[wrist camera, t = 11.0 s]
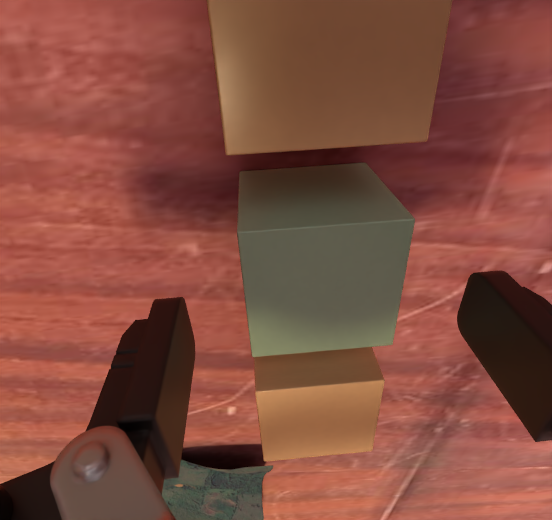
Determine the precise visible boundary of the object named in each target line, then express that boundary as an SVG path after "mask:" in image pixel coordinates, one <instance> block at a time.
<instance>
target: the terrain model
mask: <svg viewBox="0 0 552 520" xmlns="http://www.w3.org/2000/svg"><path fill="white" fill-rule="evenodd" d="M272 468H273V466H256V467H244V468H238V469H232V470H225V469H214V468H208V467H204V466H200V465H196V464H193V463H190V462H188V461H185V460H182V459H181V463H180V470H179V478H171V479H164V484H163V490H162V497H163V498H164V500H165V502H166V504H167V505H168V507H169V509H170V510H171V512H172V514H173V515H174V517H175V519H176V520H264V517H263V507H262V481H263V477H264V475H265V474H266V473H267V472H269V471H271V470H272Z"/></svg>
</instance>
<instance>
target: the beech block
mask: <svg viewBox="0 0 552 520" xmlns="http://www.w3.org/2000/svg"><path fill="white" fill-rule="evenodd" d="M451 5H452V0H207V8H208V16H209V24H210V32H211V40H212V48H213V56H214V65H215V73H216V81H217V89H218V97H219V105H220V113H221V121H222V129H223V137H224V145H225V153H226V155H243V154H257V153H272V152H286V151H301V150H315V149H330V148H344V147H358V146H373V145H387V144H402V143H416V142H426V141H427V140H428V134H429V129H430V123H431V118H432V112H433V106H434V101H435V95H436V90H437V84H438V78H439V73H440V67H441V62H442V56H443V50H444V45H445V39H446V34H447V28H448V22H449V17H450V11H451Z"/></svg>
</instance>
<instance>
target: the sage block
mask: <svg viewBox="0 0 552 520" xmlns="http://www.w3.org/2000/svg"><path fill="white" fill-rule="evenodd" d="M414 223H415V218H414V217H413V216H412V215H411V214H410V213H409V212H408V210H407V209H406V208H405V207H404V206H403V205H402V204H401V202H400V201H399V200H398V199H397V198H396V197H395V196H394V194H393V193H392V192H391V191H390V190H389V189H388V188H387V186H386V185H385V184H384V183H383V182H382V181H381V180H380V178H379V177H378V176H377V175H376V174H375V173H374V172H373V170H372V169H371V168H370V167H369V166H368V165H367V164H366V163H351V164H337V165H323V166H309V167H295V168H281V169H266V170H252V171H240V172H239V196H238V222H237V237H238V245H239V253H240V262H241V270H242V278H243V286H244V295H245V303H246V311H247V319H248V328H249V336H250V344H251V352H252V357H261V356H272V355H283V354H295V353H306V352H318V351H329V350H340V349H352V348H363V347H374V346H386V345H392V344H393V339H394V333H395V328H396V322H397V317H398V311H399V305H400V300H401V294H402V289H403V283H404V278H405V272H406V267H407V261H408V256H409V250H410V245H411V239H412V234H413V228H414Z"/></svg>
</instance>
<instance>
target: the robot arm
mask: <svg viewBox="0 0 552 520" xmlns="http://www.w3.org/2000/svg"><path fill="white" fill-rule="evenodd" d="M457 322H458V327H459V330H460V333H461V335H462V336H463V338H464V339H465V341H466V342H467V343H468V345H469V346H470V348H471V349H472V351H473V352H474V354H475V355H476V357H477V358H478V359H479V361H480V362H481V364H482V365H483V367H484V368H485V370H486V371H487V372H488V374H489V375H490V377H491V378H492V380H493V381H494V383H495V384H496V385H497V387H498V388H499V390H500V391H501V393H502V394H503V396H504V397H505V398H506V400H507V401H508V403H509V404H510V406H511V407H512V409H513V410H514V411H515V413H516V414H517V416H518V417H519V419H520V420H521V422H522V423H523V424H524V426H525V427H526V429H527V430H528V432H529V433H530V435H531V436H532V438H533V439H534V440H535V442H539V441H548V440H552V305H551V304H550V303H549V302H548V301H547V300H546V299H545V298H543V297H541V296H540V295H538V294H536V293H534V292H532V291H531V290H529V289H527V288H525V287H521V286H520V285H519V284H518V283H517V282H516V281H515V280H514V279H513V278H512V277H511V276H510V275H509V274H508V273H506V272H505V271H489V272H477V273H473V274H471V275H470V277H469V279H468V282H467V285H466V288H465V292H464V295H463V298H462V301H461V304H460V308H459V311H458V315H457ZM194 361H195V341H194V335H193V331H192V327H191V323H190V319H189V315H188V311H187V306H186V303H185V300H184V298H183V297H177V298H166V299H155V300H154V302H153V304H152V307H151V310H150V314H149V317H148V319H143V320H135V321H134V323H133V324H132V325H131V326H130V327H129V328H128V329H127V330H126V332H125V333H124V334H123V335H122V337H121V340H120V343H119V345H118V348H117V351H116V355H115V356H114V359H113V361H112V364H111V369H109V372H108V375H107V377H106V380H105V383H104V385H103V388H102V391H101V393H100V396H99V399H98V401H97V404H96V407H95V409H94V412H93V415H92V417H91V420H90V423H89V425H88V427H87V429H86V431H85V432H84V433H82V434H80V435H79V436H77V437H76V438H74V439H73V440H72V441H71V442H70V443H69V444H67V446H66V447H65V448H64V449H63V450H62V451H61V453H60V454H59V456H58V457H57V459H56V461H54V462H52V463H50V464H48V465H46V466H44V467H41V468H39V469H36V470H34V471H32V472H29V473H27V474H24V475H22V476H19V477H17V478H14V479H12V480H9V481H7V482H4V483H2V484H0V520H176V519H175V517H174V515H173V514H172V512H171V510H170V509H169V507H168V505H167V504H166V502H165V500H164V498H163V497H162V490H163V484H164V479H171V478H179V470H180V463H181V456H182V449H183V441H184V434H185V427H186V419H187V412H188V405H189V398H190V390H191V383H192V376H193V369H194Z"/></svg>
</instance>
